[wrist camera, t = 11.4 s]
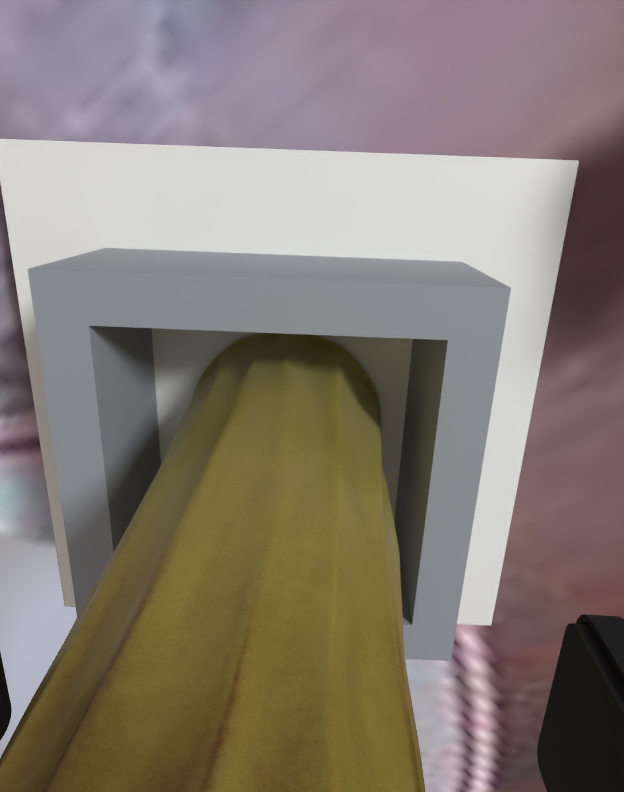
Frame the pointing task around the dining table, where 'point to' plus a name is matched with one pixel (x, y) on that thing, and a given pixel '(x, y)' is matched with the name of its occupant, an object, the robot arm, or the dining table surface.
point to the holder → (290, 327)
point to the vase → (242, 604)
